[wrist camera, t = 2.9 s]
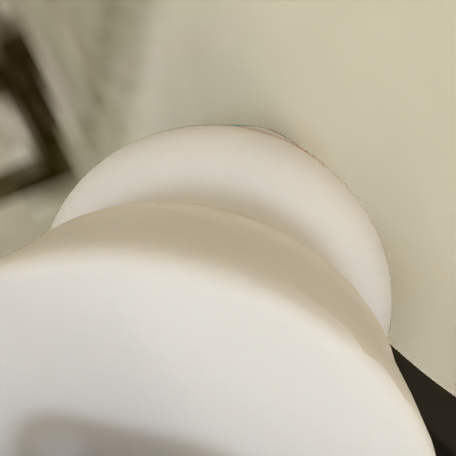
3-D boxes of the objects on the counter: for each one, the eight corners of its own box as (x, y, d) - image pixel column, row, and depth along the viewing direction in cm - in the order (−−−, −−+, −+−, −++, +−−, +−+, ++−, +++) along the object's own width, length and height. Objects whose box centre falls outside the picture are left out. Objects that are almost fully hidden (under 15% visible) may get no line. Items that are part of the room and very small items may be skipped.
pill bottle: (181, 271, 15) (-62, 664, 4) (164, 131, 13) (-374, 157, 2) (319, 269, 14) (487, 769, 3) (321, 118, 12) (742, 59, 1)
